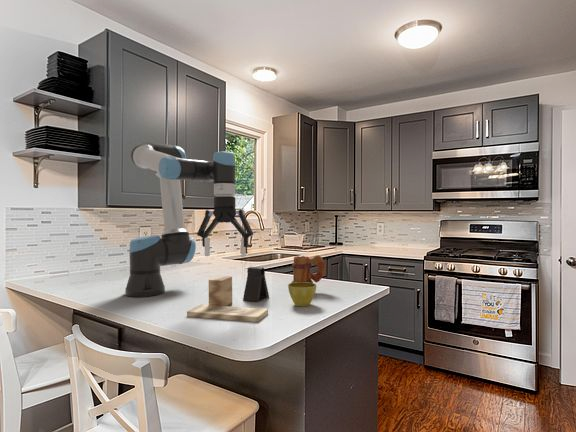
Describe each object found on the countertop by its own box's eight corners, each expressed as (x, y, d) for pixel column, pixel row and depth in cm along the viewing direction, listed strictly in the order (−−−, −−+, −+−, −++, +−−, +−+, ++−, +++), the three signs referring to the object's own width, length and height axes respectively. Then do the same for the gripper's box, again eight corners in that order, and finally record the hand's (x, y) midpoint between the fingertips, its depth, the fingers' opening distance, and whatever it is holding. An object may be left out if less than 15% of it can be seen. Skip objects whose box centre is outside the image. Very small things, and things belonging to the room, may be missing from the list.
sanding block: (208, 309, 121) (208, 279, 121) (219, 303, 129) (219, 275, 129) (222, 310, 120) (221, 280, 120) (232, 304, 127) (232, 276, 127)
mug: (288, 291, 147) (287, 255, 147) (295, 287, 154) (294, 253, 154) (322, 294, 141) (321, 256, 141) (327, 290, 149) (327, 254, 149)
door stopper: (256, 302, 130) (256, 269, 129) (242, 300, 132) (242, 268, 132) (269, 297, 138) (268, 266, 137) (256, 295, 140) (255, 265, 140)
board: (187, 316, 113) (186, 311, 113) (201, 308, 121) (201, 304, 121) (257, 322, 106) (257, 316, 106) (267, 313, 115) (267, 309, 115)
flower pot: (312, 300, 132) (312, 281, 132) (319, 307, 122) (319, 286, 122) (286, 302, 130) (285, 282, 130) (290, 309, 120) (290, 288, 120)
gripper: (187, 196, 125) (187, 256, 125) (255, 194, 120) (255, 258, 120) (196, 197, 132) (197, 254, 132) (261, 196, 127) (262, 255, 127)
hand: (225, 256), depth 126 cm, fingers open, 13 cm apart
